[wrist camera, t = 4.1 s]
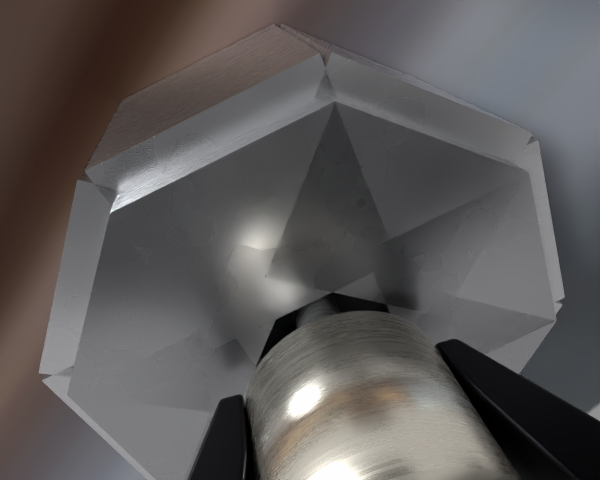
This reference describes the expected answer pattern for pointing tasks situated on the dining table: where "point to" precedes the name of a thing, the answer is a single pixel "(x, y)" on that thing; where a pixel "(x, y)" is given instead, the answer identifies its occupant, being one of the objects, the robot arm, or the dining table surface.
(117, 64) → the dining table surface
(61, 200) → the dining table surface
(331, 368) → the plunger
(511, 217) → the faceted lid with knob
